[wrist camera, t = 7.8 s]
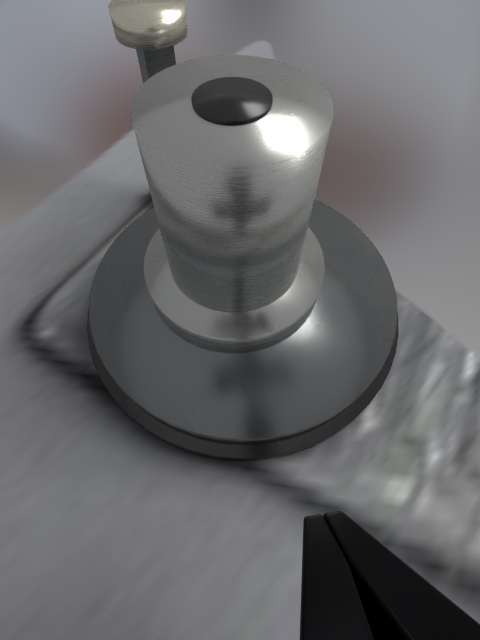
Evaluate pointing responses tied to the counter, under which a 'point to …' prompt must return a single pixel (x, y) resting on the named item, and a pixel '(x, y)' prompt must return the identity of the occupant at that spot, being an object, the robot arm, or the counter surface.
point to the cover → (233, 198)
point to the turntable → (247, 368)
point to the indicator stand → (150, 30)
